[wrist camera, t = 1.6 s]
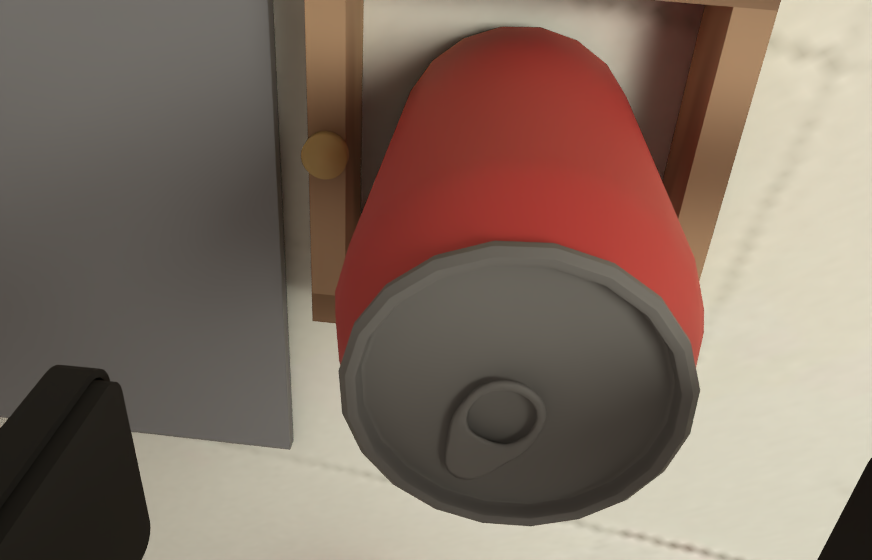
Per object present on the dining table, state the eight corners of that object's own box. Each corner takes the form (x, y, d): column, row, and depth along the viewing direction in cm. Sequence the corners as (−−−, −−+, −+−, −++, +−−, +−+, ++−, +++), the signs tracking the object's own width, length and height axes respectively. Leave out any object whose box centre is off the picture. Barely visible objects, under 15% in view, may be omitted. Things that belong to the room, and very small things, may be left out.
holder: (662, 313, 24) (678, 367, 22) (326, 278, 25) (306, 327, 22) (759, -51, 19) (797, -34, 16) (322, -87, 19) (293, -75, 17)
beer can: (366, 177, 23) (247, 457, 13) (467, -26, 20) (417, 129, 9) (552, 270, 24) (580, 597, 14) (677, 92, 21) (837, 345, 10)
